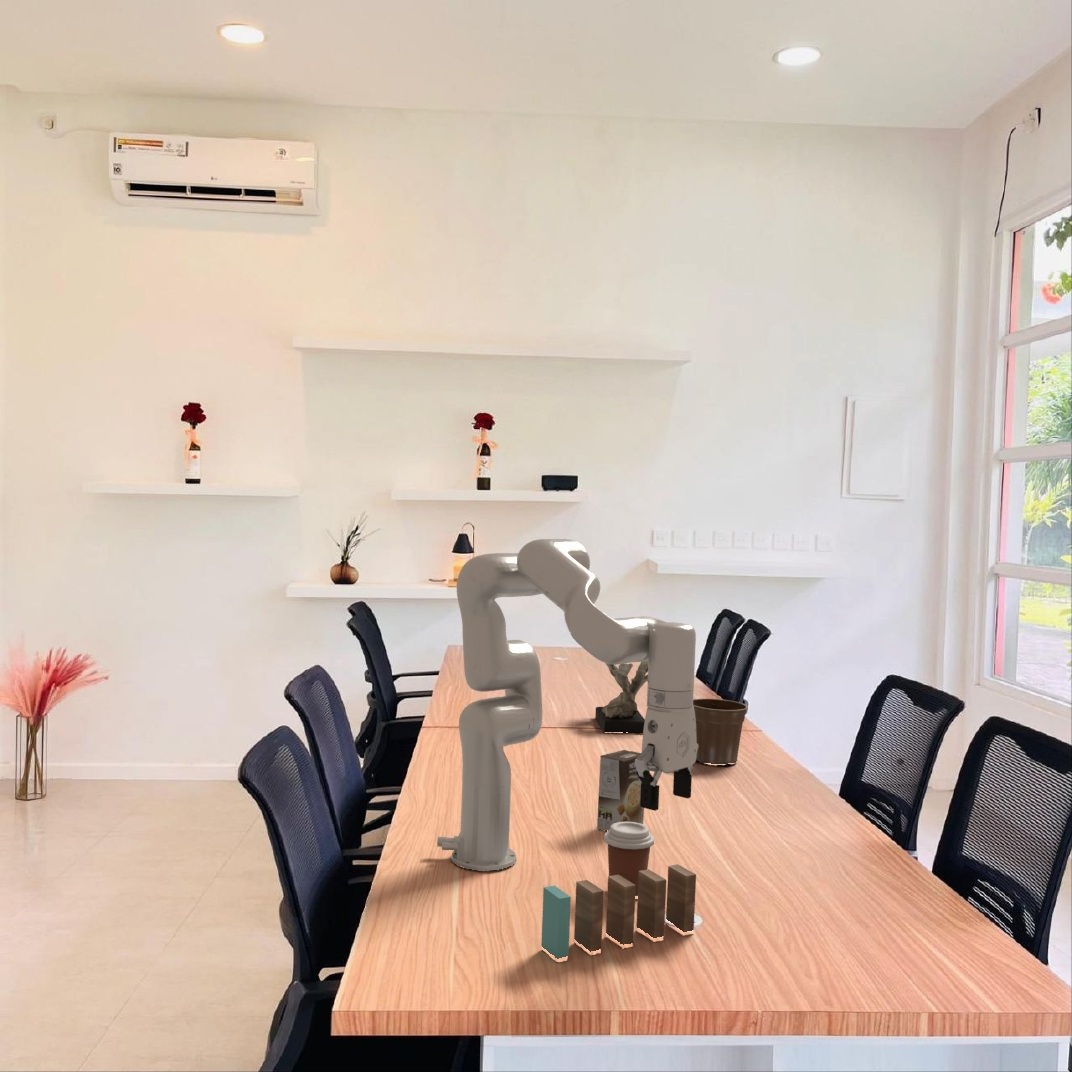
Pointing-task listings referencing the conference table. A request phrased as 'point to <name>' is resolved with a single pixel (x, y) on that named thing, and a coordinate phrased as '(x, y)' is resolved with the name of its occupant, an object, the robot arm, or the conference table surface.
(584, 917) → the domino
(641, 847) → the coffee cup
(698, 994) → the conference table surface
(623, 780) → the coffee box
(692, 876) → the domino
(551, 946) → the teal domino
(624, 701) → the coral
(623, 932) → the domino
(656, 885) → the domino
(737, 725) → the plant pot
